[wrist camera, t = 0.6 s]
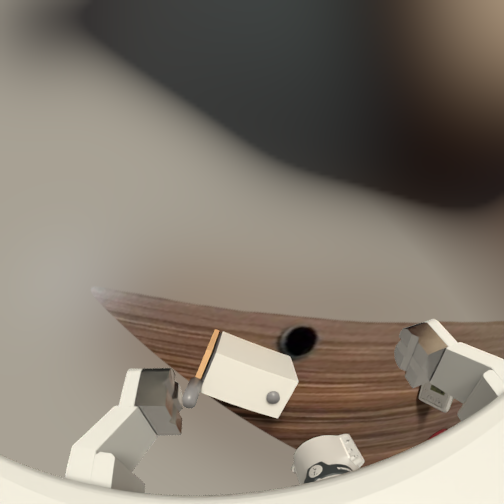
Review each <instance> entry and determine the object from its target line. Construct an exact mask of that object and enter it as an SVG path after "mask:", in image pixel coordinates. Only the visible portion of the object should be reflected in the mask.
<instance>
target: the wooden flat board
mask: <svg viewBox="0 0 504 504" xmlns="http://www.w3.org/2000/svg"><path fill="white" fill-rule="evenodd" d="M218 334H219V330H216V329H215V331H214V333H213V335H212V338H211V340H210V343H209V345H208V347H207V350H206V352H205V355H204V357H203V360H202V362H201V364H200V367H199V369H198V372H197V374H196V377H193V378H191V379H190V381H189V383H188V386H187V388H186V390H185V393H184V395H183V397H182V400H183V406H184V407H186V408H193V407H194V406H195V405H196V401H197V399H198V396H199V393H200V390H201V387H202V381H201V377H202V374H203V372H204V370H205V367H206V365H207V362H208V360H209V358H210V355H211V353H212V350H213V348H214V345H215V342H216V339H217V337H218Z"/></svg>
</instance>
